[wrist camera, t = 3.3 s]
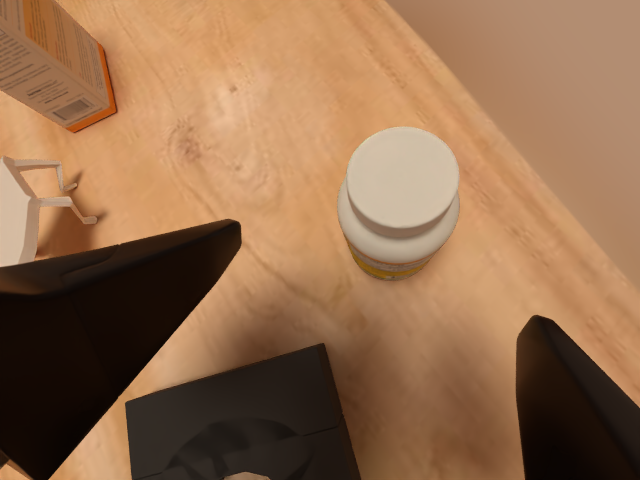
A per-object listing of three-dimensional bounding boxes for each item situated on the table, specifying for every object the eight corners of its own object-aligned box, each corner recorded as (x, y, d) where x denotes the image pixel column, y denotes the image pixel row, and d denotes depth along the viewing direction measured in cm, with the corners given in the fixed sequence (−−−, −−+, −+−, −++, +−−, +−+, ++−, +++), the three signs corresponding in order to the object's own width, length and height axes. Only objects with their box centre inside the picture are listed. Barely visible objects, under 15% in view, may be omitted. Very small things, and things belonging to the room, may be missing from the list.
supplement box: (61, 68, 30) (-167, -112, 17) (105, 46, 29) (-97, -153, 17) (71, 136, 27) (-186, -15, 15) (118, 114, 27) (-105, -61, 14)
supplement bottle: (408, 296, 19) (437, 278, 10) (334, 256, 21) (299, 207, 11) (447, 222, 20) (508, 141, 11) (372, 188, 21) (369, 90, 12)
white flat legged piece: (6, 225, 26) (-75, 205, 22) (85, 167, 26) (21, 135, 22) (47, 349, 23) (-39, 357, 18) (139, 282, 23) (77, 274, 18)
